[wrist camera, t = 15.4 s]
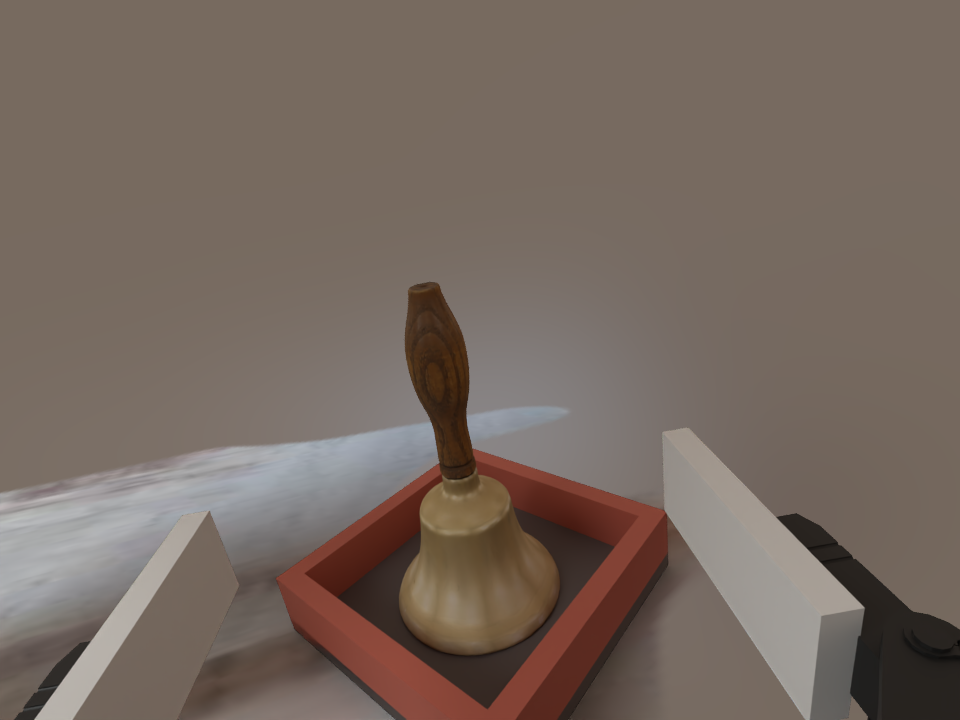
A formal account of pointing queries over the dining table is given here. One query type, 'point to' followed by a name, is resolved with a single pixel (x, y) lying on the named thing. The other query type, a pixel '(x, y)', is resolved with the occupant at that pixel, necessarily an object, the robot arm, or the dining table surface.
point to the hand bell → (465, 514)
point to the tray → (502, 674)
